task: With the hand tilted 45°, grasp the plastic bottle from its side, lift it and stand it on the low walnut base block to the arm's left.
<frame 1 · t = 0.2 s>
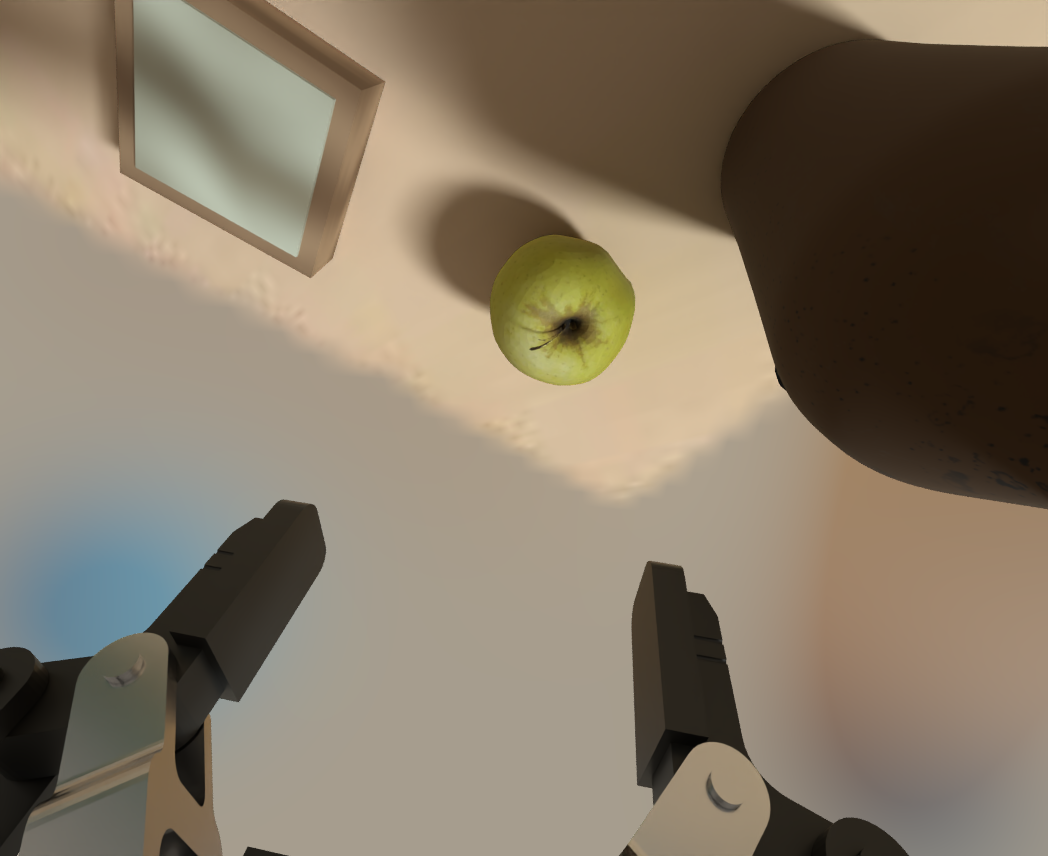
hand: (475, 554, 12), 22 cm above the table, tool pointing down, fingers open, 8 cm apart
walnut base: (262, 123, 27), on the table
apple: (568, 275, 30), on the table
olive oil: (817, 160, 24), on the table
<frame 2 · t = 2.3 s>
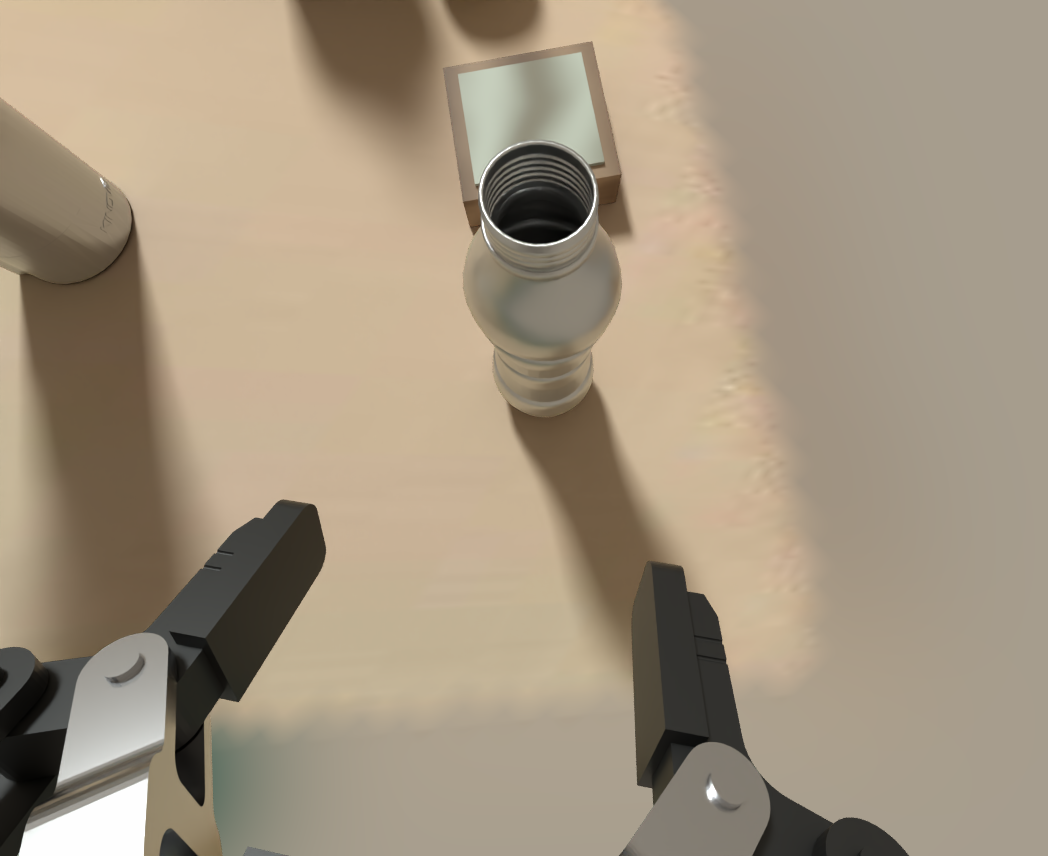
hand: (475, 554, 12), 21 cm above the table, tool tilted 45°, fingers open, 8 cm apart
walnut base: (530, 150, 37), on the table
plastic bottle: (543, 379, 34), on the table
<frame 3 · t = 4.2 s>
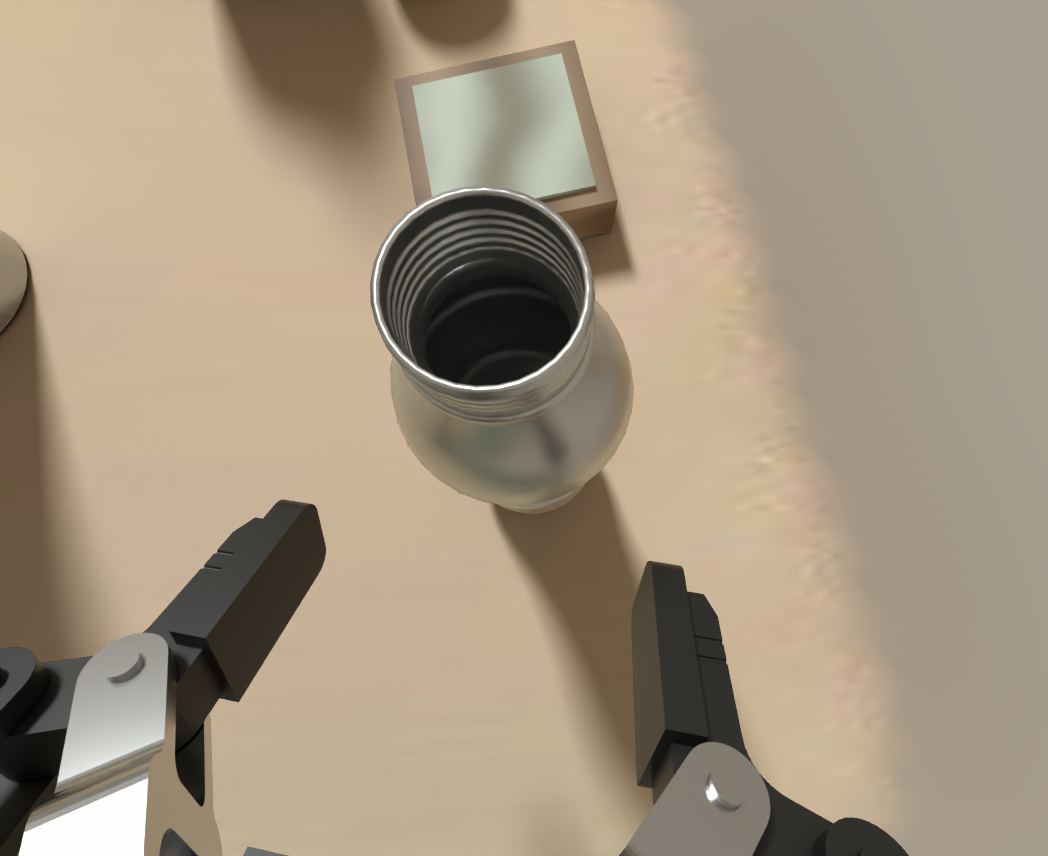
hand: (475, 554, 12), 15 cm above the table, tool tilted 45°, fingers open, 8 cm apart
walnut base: (506, 174, 31), on the table
plastic bottle: (531, 456, 27), on the table
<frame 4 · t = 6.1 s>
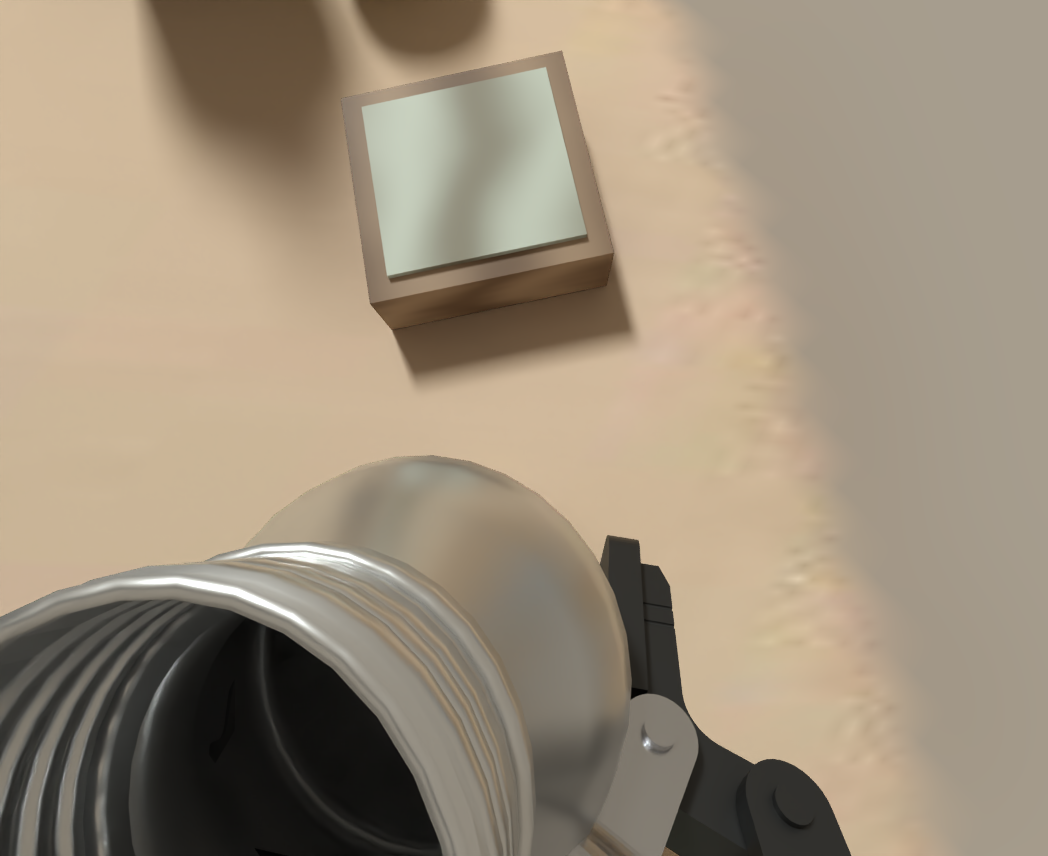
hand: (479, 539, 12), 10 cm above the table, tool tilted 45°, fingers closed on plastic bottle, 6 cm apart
walnut base: (479, 212, 25), on the table
plastic bottle: (506, 568, 22), on the table, touching gripper
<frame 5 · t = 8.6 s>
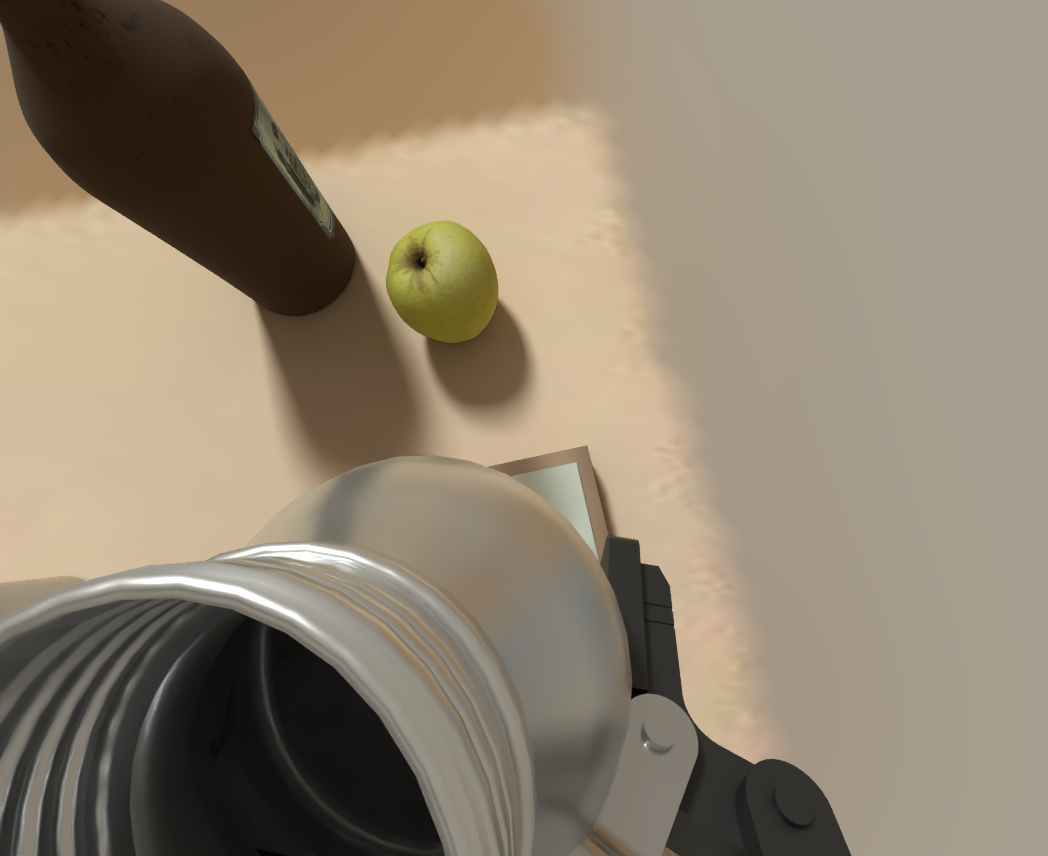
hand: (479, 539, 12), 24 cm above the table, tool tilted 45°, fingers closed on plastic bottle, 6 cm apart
walnut base: (527, 540, 35), on the table
apple: (456, 310, 39), on the table
olive oil: (303, 266, 41), on the table
plastic bottle: (506, 568, 22), point 13 cm above the table, touching gripper
when the fingers open (14 cm above the table, at t = 11.1 s): plastic bottle stays where it is, resting on walnut base.
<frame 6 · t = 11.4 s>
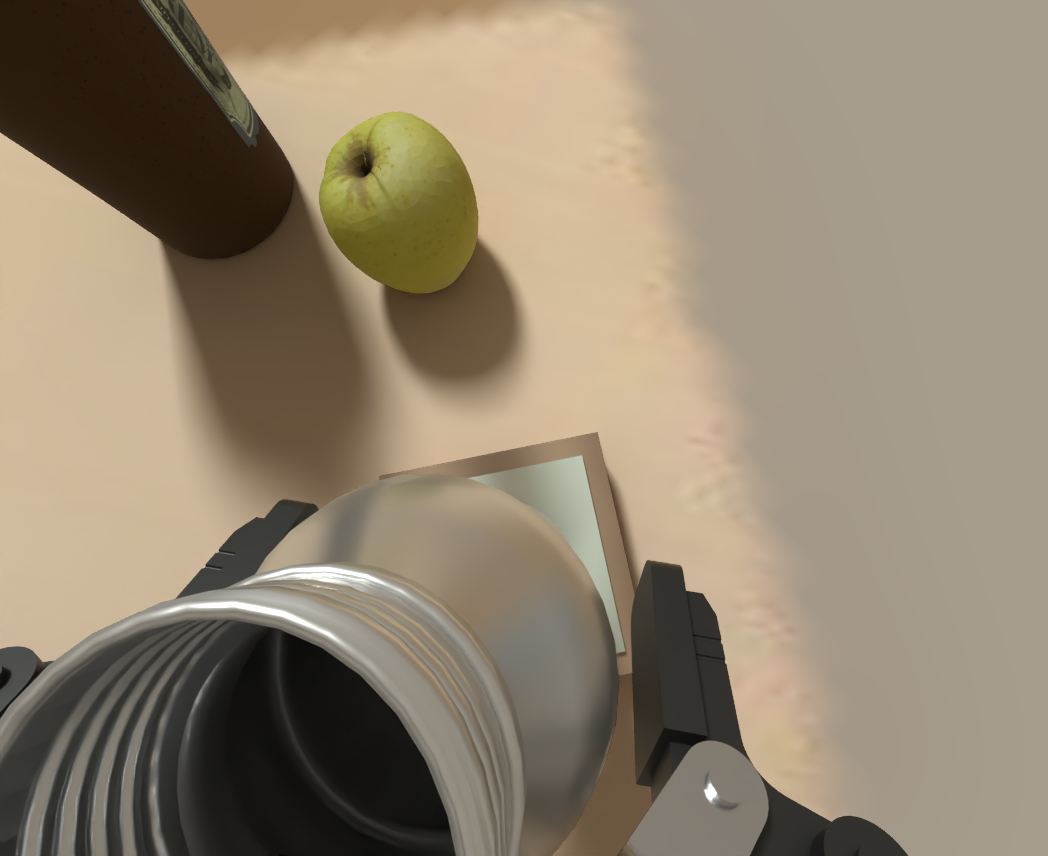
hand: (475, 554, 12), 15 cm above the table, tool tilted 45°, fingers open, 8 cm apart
walnut base: (513, 562, 26), on the table
apple: (424, 254, 30), on the table
olive oil: (226, 195, 31), on the table
plastic bottle: (505, 572, 23), point 3 cm above the table, touching walnut base
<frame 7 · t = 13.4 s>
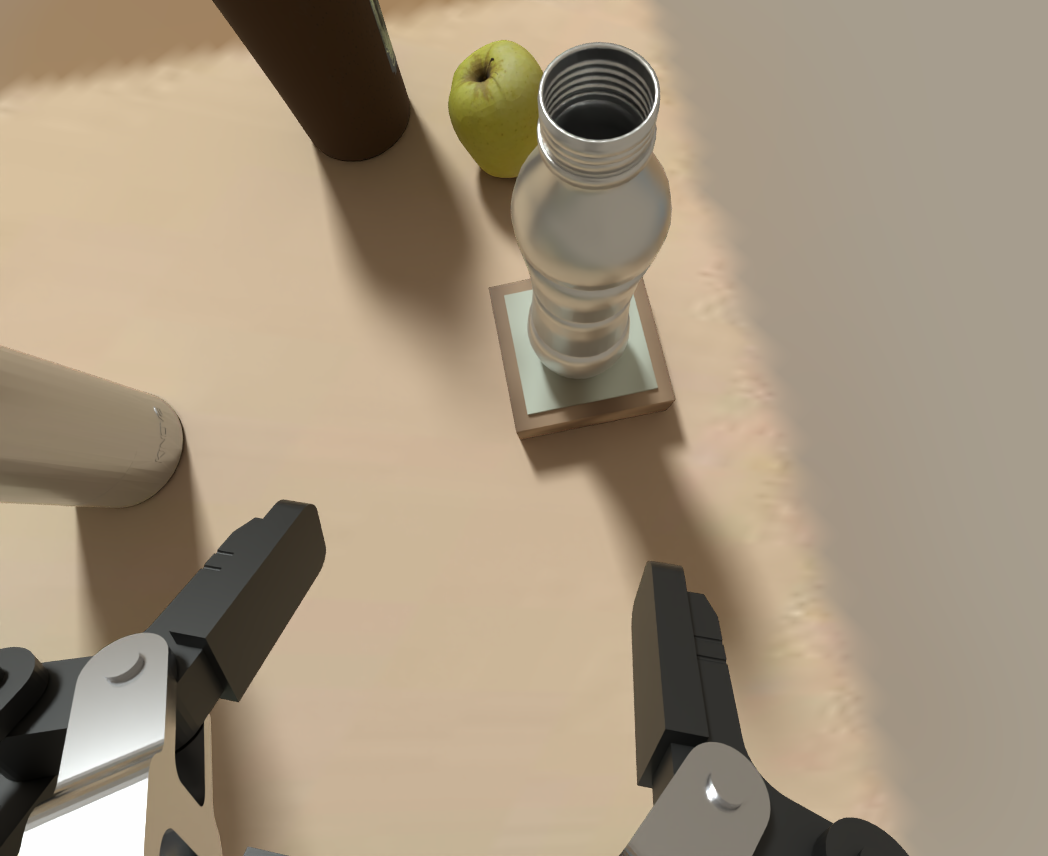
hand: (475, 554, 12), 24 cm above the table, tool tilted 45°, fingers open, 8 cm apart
walnut base: (577, 356, 37), on the table
apple: (506, 155, 41), on the table
olive oil: (361, 118, 43), on the table
plastic bottle: (576, 343, 34), point 3 cm above the table, touching walnut base
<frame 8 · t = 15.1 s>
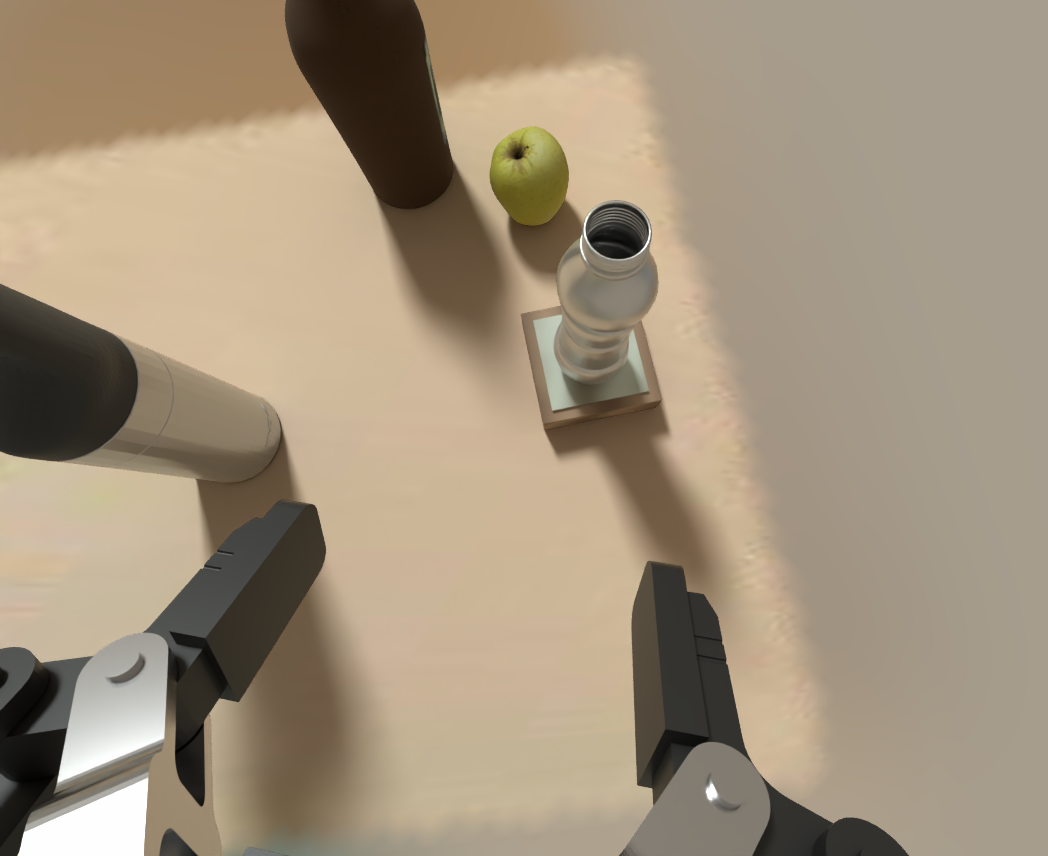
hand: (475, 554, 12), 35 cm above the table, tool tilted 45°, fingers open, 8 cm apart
walnut base: (587, 365, 48), on the table
apple: (530, 205, 52), on the table
olive oil: (413, 173, 54), on the table
plastic bottle: (588, 357, 45), point 3 cm above the table, touching walnut base
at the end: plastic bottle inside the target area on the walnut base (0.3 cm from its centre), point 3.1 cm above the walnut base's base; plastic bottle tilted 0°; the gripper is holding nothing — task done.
